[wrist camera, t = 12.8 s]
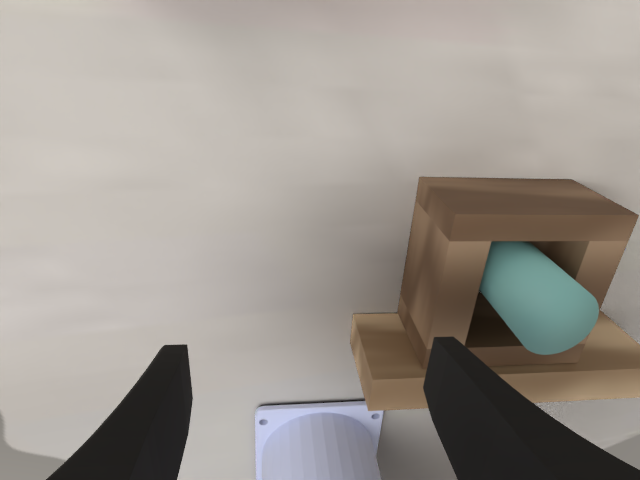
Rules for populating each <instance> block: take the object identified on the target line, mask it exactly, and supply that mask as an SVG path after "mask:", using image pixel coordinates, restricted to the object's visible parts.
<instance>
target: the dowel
mask: <svg viewBox="0 0 640 480" xmlns="http://www.w3.org/2000/svg"><path fill="white" fill-rule="evenodd" d="M479 290H480V291H481V293H482V294H483V295H484V296H485V298H486V299H487V300H488V301H489V303H490V304H491V305H492V307H493V308H494V309H495V310H496V312H497V313H498V314H499V315H500V317H501V318H502V319H503V320H504V322H505V323H506V324H507V325H508V327H509V328H510V329H511V331H512V332H513V333H514V334H515V336H516V337H517V338H518V339H519V341H520V342H521V343H522V344H523V346H524V347H525V348H526V349H527V350H529V351H531V352H533V353H536V354H541V355H550V354H556V353H560V352H563V351H566V350H568V349H570V348H572V347H574V346H575V345H577V344H578V343H579V342H581V341H582V340H583V339H584V338H585V337H586V336H587V335H588V334H589V333H590V332H591V330H592V329H593V327H594V326H595V324H596V322H597V319H598V315H599V306H598V303H597V300H596V299H595V297H594V296H593V295H592V294H591V293H589V292H588V291H587V290H586V289H585V288H583V287H582V286H581V285H580V284H579V283H578V282H576V281H575V280H574V279H573V278H572V277H571V276H569V275H568V274H567V273H566V272H565V271H563V270H562V269H561V268H560V267H559V266H558V265H556V264H555V263H554V262H553V261H552V260H550V259H549V258H548V257H547V256H546V255H545V254H543V253H542V252H541V251H540V250H539V249H537V248H536V247H535V246H534V245H533V244H532V243H530V242H529V241H491V245H490V249H489V253H488V257H487V261H486V264H485V268H484V272H483V276H482V280H481V284H480V288H479Z"/></svg>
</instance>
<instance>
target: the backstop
mask: <svg viewBox="0 0 640 480" xmlns="http://www.w3.org/2000/svg"><path fill="white" fill-rule="evenodd" d="M350 344H351V348H352V351H353V355H354V359H355V363H356V367H357V371H358V374H359V378H360V382H361V386H362V390H363V394H364V397H365V401H366V405H367V409H368V411H381V410H401V409H420V408H428V404H427V401H426V397H425V394H424V390H423V385H424V380H425V376H426V371H427V369H423V368H422V366H421V364H420V362H419V359H418V357H417V355H416V353H415V350H414V348H413V346H412V344H411V342H410V339H409V337H408V335H407V333H406V330H405V328H404V326H403V324H402V321H401V319H400V317H399V315H398V313H383V314H353V320H352V330H351V339H350ZM488 367H489V368H490V369H492V370H493V371H494V372H495V373H496V374H497V375H499V376H500V377H501V378H502V379H503V380H505V381H506V382H507V383H508V384H509V385H511V386H512V387H513V388H514V389H516V390H517V391H518V392H519V393H520V394H522V395H523V396H524V397H526V398H527V399H528V400H530V401H531V402H532V403H538V402H557V401H577V400H597V399H616V398H636V397H640V345H639V344H638V343H637V342H636V341H635V340H633V339H632V338H631V337H630V336H629V335H628V334H627V333H625V332H624V331H623V330H622V329H621V328H620V327H619V326H617V325H616V324H615V323H614V322H613V321H612V320H611V319H609V318H608V317H607V316H606V315H605V314H604V313H603V312H602V311H600V310H599V315H598V319H597V322H596V324H595V326H594V327H593V329H592V330H591V332H590V334H589V336H588V339H587V341H586V344H585V346H584V348H583V351H582V353H581V356H580V358H579V361H578V363H559V364H533V365H508V366H488Z"/></svg>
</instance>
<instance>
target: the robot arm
mask: <svg viewBox="0 0 640 480" xmlns="http://www.w3.org/2000/svg"><path fill="white" fill-rule="evenodd" d="M423 390H424V394H425V397H426V401H427V404H428V408H429V411H430V414H431V417H432V421H433V423H434V425H435V428H436V430H437V433H438V435H439V437H440V440H441V442H442V444H443V447H444V449H445V451H446V453H447V456H448V458H449V460H450V462H451V465H452V467H453V469H454V472H455V474H456V476H457V479H458V480H640V470H638V469H637V468H635V467H633V466H631V465H629V464H627V463H625V462H623V461H622V460H620V459H618V458H616V457H615V456H613V455H611V454H609V453H608V452H606V451H604V450H603V449H601V448H599V447H597V446H596V445H594V444H592V443H591V442H589V441H587V440H586V439H584V438H583V437H581V436H579V435H578V434H576V433H575V432H573V431H572V430H570V429H569V428H567V427H566V426H564V425H563V424H561V423H560V422H558V421H557V420H555V419H554V418H553V417H551V416H550V415H548V414H547V413H545V412H544V411H543V410H541V409H540V408H539V407H537V406H536V405H535V404H534V403H532V402H531V401H530V400H528V399H527V398H526V397H524V396H523V395H522V394H520V393H519V392H518V391H517V390H516V389H514V388H513V387H512V386H511V385H509V384H508V383H507V382H506V381H505V380H503V379H502V378H501V377H500V376H499V375H497V374H496V373H495V372H494V371H493V370H492V369H490V368H489V367H488V366H487V365H486V364H485V363H484V362H482V361H481V360H480V359H479V358H478V357H477V356H476V355H474V354H473V353H472V352H471V351H470V350H469V349H468V348H466V347H465V346H464V345H463V344H462V343H461V342H459V341H458V340H457V339H456V338H455V337H453V336H452V337H434V339H433V344H432V348H431V353H430V357H429V362H428V367H427V371H426V376H425V380H424V385H423ZM192 399H193V397H192V387H191V377H190V368H189V358H188V348H187V345H164V346H163V347H162V348H161V349H160V351H159V352H158V354H157V355H156V357H155V358H154V359H153V361H152V362H151V364H150V365H149V366H148V368H147V369H146V371H145V372H144V373H143V375H142V376H141V377H140V379H139V380H138V381H137V383H136V384H135V385H134V386H133V388H132V389H131V390H130V391H129V393H128V394H127V395H126V397H125V398H124V399H123V400H122V402H121V403H120V404H119V405H118V406H117V408H116V409H115V410H114V411H113V412H112V413H111V414H110V416H109V417H108V418H107V419H106V420H105V421H104V422H103V423H102V425H101V426H100V427H99V428H98V429H97V430H96V431H95V432H94V434H93V435H92V436H91V437H90V438H89V439H88V440H87V441H86V442H85V443H84V444H83V445H82V446H81V447H80V448H79V449H78V450H77V451H76V452H75V453H74V454H73V455H72V456H71V457H70V458H69V459H68V460H67V461H66V462H65V463H64V464H63V465H62V466H61V467H60V468H58V469H57V470H56V471H55V472H54V473H53V474H52V475H51V476H50V477H49V478H47V479H46V480H177V477H178V473H179V469H180V465H181V461H182V457H183V453H184V448H185V444H186V440H187V436H188V430H189V423H190V416H191V407H192ZM375 413H376V414H375ZM383 413H384V410H381V411H368V409H367V405H366V401H355V402H334V403H313V404H292V405H272V406H260V407H258V408H257V409H256V411H255V446H256V480H382V479H381V475H380V471H379V467H378V463H377V459H376V454H377V448H378V442H379V436H380V431H381V425H382V419H383ZM262 419H266V420H262Z"/></svg>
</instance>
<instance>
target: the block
mask: <svg viewBox="0 0 640 480" xmlns="http://www.w3.org/2000/svg"><path fill="white" fill-rule="evenodd" d="M638 216H639V215H637V214H635V213H634V212H632V211H630V210H628V209H626V208H624V207H622V206H620V205H619V204H617V203H615V202H613V201H611V200H609V199H607V198H605V197H604V196H602V195H600V194H598V193H596V192H594V191H592V190H590V189H589V188H587V187H585V186H583V185H581V184H579V183H577V182H575V181H574V180H568V179H508V178H449V177H419V183H418V189H417V196H416V202H415V208H414V214H413V220H412V226H411V232H410V238H409V244H408V250H407V257H406V263H405V269H404V275H403V281H402V287H401V293H400V299H399V305H398V315H399V317H400V319H401V321H402V324H403V326H404V328H405V330H406V333H407V335H408V337H409V339H410V342H411V344H412V346H413V348H414V350H415V353H416V355H417V357H418V359H419V362H420V364H421V366H422V368H423V369H427V367H428V362H429V357H430V353H431V348H432V344H433V339H434V337H452V336H453V337H455V338H456V339H457V340H458V341H459V342H461V343H462V344H463V345H464V346H465V347H466V348H468V349H469V350H470V351H471V352H472V353H473V354H474V355H476V356H477V357H478V358H479V359H480V360H481V361H482V362H484V363H485V364H486V365H487V366H508V365H533V364H559V363H578V361H579V358H580V356H581V353H582V351H583V348H584V346H585V344H586V341H587V339H588V336H589V334H590V333H589V334H588V335H587V336H586V337H585V338H584V339H583V340H582V341H581V342H579V343H578V344H577V345H575V346H574V347H572V348H570V349H568V350H566V351H563V352H560V353H556V354H550V355H541V354H536V353H533V352H531V351H529V350H527V349H526V348H525V347H524V346H523V344H522V343H521V342H520V341H519V339H518V338H517V337H516V336H515V334H514V333H513V332H512V331H511V329H510V328H509V327H508V325H507V324H506V323H505V322H504V320H503V319H502V318H501V317H500V315H499V314H498V313H497V312H496V310H495V309H494V308H493V307H492V305H491V304H490V303H489V301H488V300H487V299H486V298H485V296H484V295H483V294H482V293H478V292H479V288H480V284H481V280H482V276H483V272H484V268H485V264H486V261H487V257H488V253H489V249H490V245H491V241H529V242H530V243H532V244H533V245H534V246H535V247H536V248H537V249H539V250H540V251H541V252H542V253H543V254H545V255H546V256H547V257H548V258H549V259H550V260H552V261H553V262H554V263H555V264H556V265H558V266H559V267H560V268H561V269H562V270H563V271H565V272H566V273H567V274H568V275H569V276H571V277H572V278H573V279H574V280H575V281H576V282H578V283H579V284H580V285H581V286H582V287H583V288H585V289H586V290H587V291H588V292H589V293H591V294H592V295H593V296H594V297H595V299H596V300H597V303H598V306H599V310H600V308H601V305H602V303H603V300H604V298H605V296H606V293H607V291H608V288H609V286H610V284H611V281H612V279H613V276H614V274H615V272H616V269H617V267H618V264H619V262H620V260H621V257H622V255H623V252H624V250H625V248H626V245H627V243H628V240H629V238H630V236H631V233H632V231H633V228H634V226H635V224H636V221H637V219H638Z"/></svg>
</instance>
